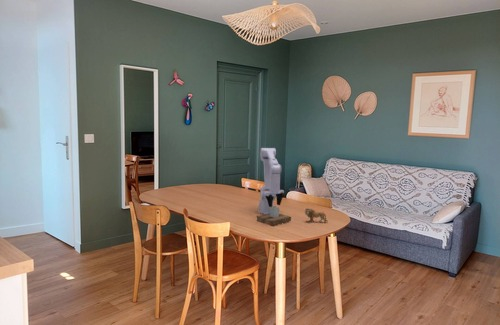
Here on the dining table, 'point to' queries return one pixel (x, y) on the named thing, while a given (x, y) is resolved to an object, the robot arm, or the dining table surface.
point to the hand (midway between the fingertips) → (274, 205)
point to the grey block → (274, 211)
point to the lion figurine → (315, 215)
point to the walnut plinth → (273, 219)
